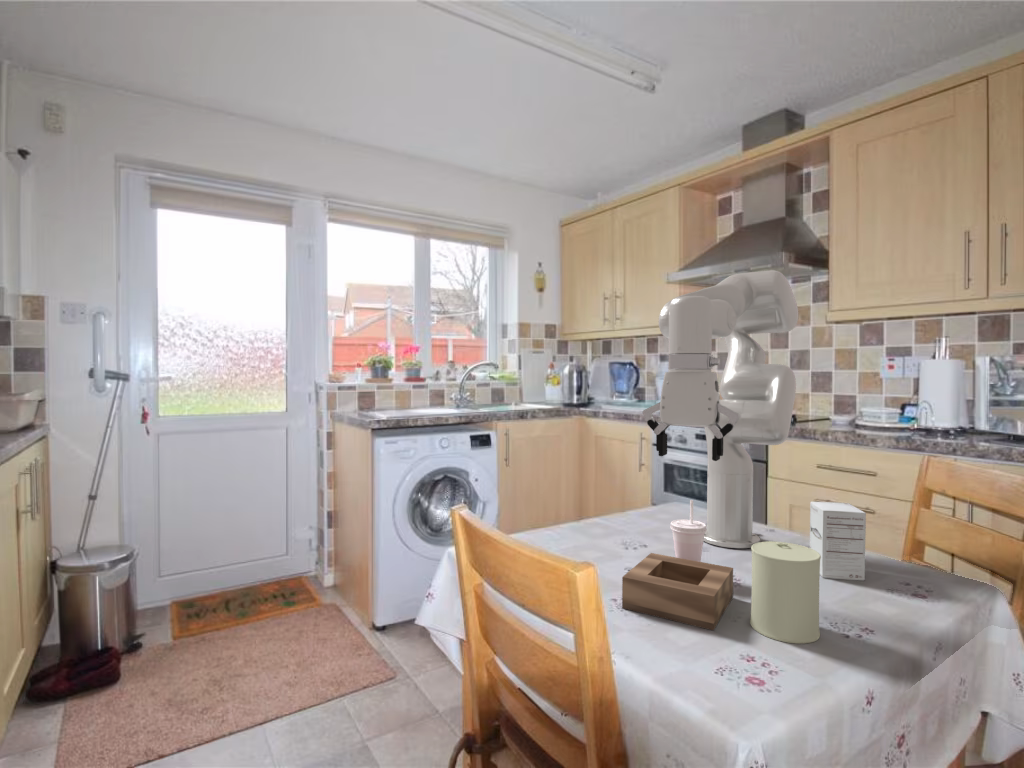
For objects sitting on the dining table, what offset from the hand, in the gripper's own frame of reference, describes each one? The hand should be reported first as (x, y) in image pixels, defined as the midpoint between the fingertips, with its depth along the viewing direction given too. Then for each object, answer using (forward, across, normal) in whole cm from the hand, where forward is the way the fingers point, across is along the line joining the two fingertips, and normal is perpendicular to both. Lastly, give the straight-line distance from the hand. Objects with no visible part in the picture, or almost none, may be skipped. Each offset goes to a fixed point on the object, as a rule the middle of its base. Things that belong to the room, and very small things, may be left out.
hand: (688, 457), depth 101 cm
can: (+22, -18, +14) cm, 31 cm away
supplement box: (+22, -23, -17) cm, 36 cm away
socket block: (+22, -2, +13) cm, 25 cm away
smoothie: (+22, 0, 0) cm, 22 cm away
